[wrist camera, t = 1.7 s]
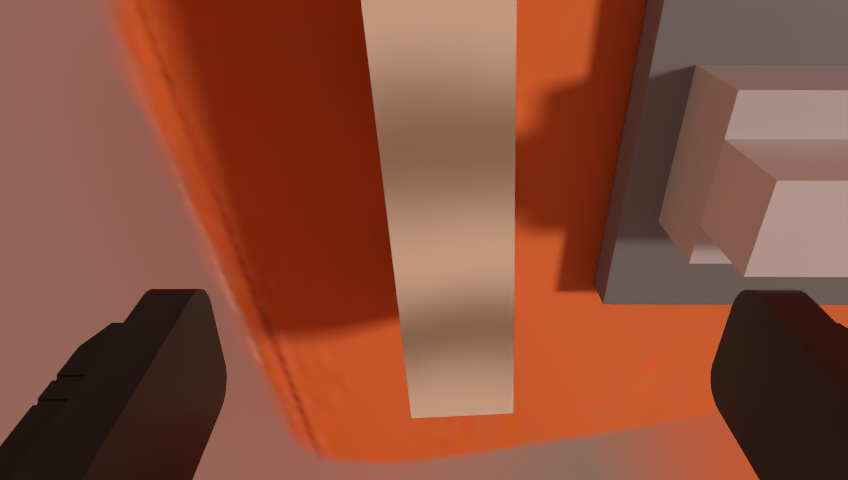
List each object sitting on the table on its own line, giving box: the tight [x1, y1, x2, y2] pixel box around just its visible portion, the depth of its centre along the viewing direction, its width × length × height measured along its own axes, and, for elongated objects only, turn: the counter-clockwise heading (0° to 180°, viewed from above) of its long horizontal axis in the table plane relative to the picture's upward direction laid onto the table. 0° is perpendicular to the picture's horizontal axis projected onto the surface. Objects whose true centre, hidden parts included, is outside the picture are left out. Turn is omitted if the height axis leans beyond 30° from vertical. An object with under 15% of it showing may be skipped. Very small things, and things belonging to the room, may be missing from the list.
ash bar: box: [361, 0, 517, 418], centre depth 18 cm, size 20×4×7 cm, turn 4°
